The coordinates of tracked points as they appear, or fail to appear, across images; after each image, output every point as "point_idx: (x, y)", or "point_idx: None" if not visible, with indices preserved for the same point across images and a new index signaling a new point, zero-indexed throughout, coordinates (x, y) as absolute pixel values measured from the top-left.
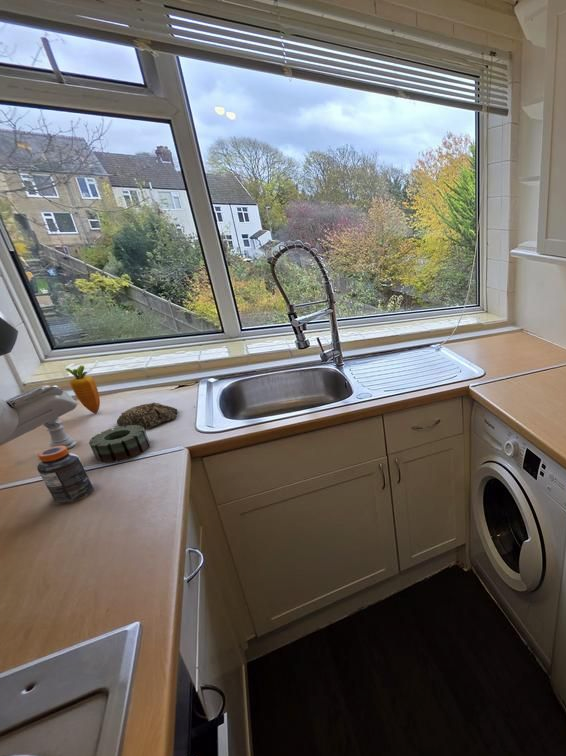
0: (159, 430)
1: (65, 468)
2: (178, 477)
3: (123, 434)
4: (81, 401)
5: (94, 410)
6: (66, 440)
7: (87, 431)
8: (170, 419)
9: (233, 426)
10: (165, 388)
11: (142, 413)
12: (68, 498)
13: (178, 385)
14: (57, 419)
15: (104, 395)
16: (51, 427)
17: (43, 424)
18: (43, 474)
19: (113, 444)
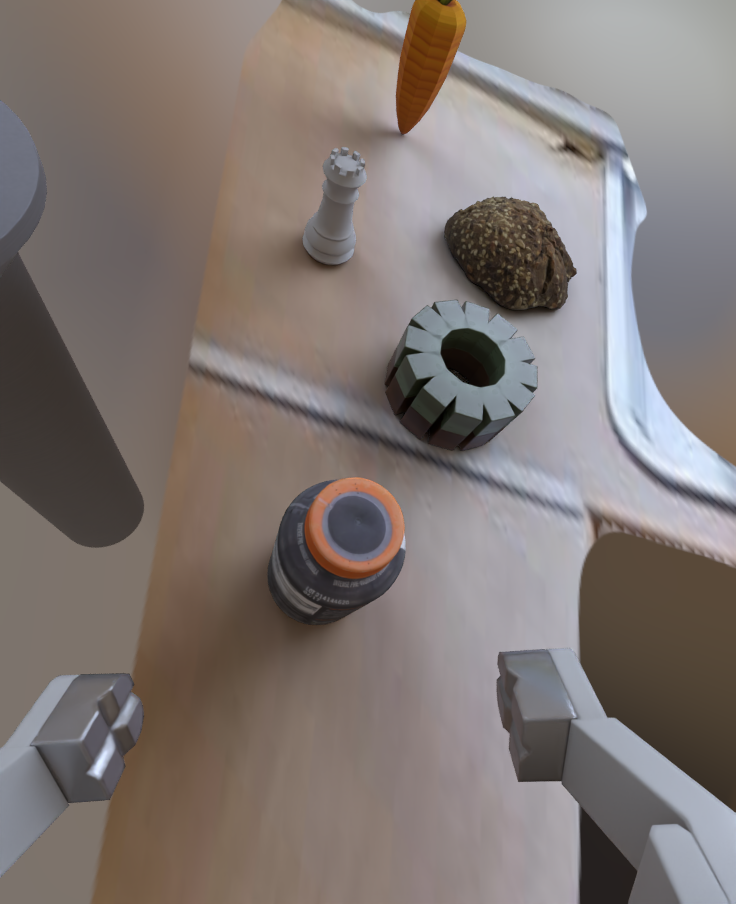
0: None
1: (357, 607)
2: None
3: (476, 344)
4: (402, 84)
5: (406, 126)
6: (343, 241)
7: (379, 207)
8: (555, 307)
9: (697, 478)
10: (538, 131)
11: (521, 255)
12: (303, 621)
13: (563, 139)
14: (361, 169)
15: None
16: (337, 188)
17: (521, 770)
18: (286, 579)
19: (462, 415)
